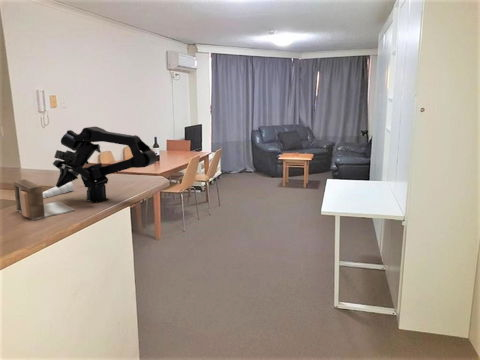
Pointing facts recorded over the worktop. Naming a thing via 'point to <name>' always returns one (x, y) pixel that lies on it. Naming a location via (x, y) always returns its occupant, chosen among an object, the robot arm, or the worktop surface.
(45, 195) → the unicorn horn
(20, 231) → the worktop surface
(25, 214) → the terracotta plug
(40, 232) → the worktop surface
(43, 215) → the socket block
